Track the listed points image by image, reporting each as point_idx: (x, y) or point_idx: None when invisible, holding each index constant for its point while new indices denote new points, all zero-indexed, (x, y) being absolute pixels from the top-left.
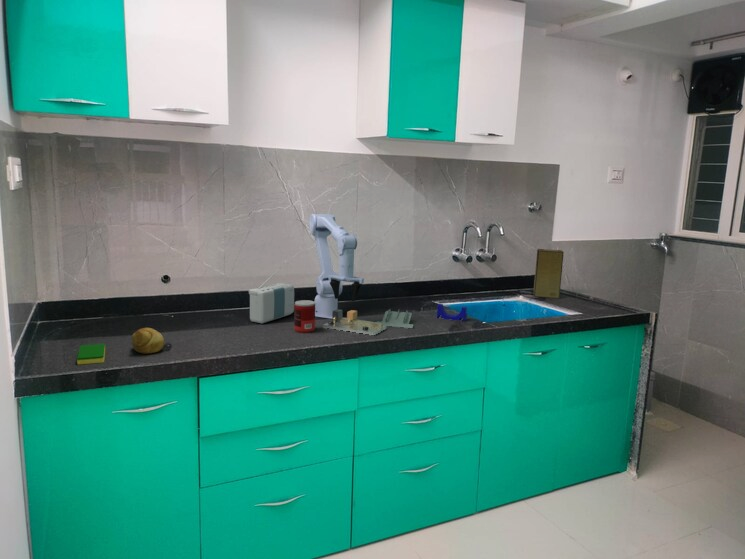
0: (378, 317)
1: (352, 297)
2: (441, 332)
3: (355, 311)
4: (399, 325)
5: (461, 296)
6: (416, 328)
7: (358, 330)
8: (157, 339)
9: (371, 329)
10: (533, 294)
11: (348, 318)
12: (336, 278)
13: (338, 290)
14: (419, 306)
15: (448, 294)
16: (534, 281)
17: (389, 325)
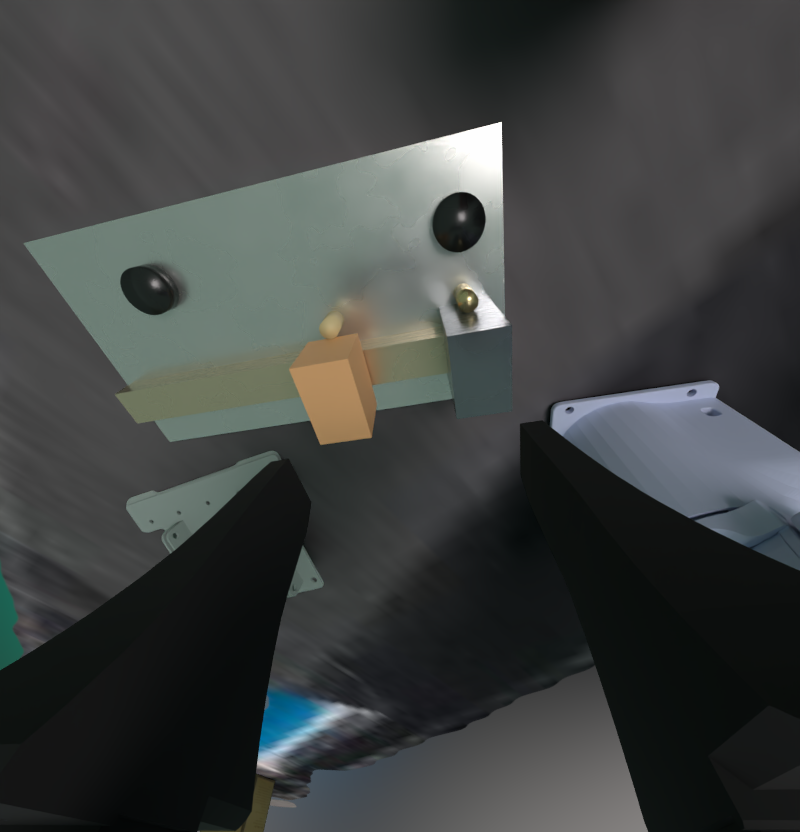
0: (373, 550)
1: (258, 486)
2: (15, 523)
3: (312, 420)
4: (181, 499)
5: (359, 747)
6: (122, 513)
7: (149, 212)
8: None
9: (130, 313)
10: (267, 779)
11: (343, 339)
12: None
13: (565, 566)
14: (369, 680)
15: (395, 748)
16: (256, 822)
17: (216, 478)
